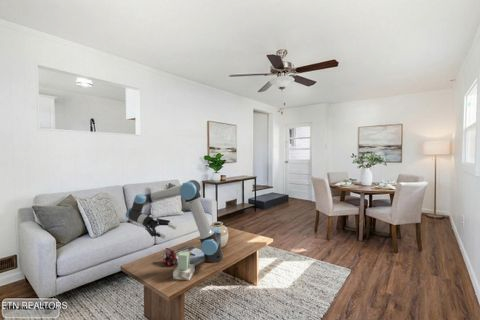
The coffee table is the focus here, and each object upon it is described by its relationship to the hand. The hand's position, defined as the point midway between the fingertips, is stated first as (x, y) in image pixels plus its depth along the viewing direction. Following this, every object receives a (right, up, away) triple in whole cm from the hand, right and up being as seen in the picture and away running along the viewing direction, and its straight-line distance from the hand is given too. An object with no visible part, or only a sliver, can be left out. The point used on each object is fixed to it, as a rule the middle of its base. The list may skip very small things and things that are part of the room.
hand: (170, 232), depth 165 cm
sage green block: (+11, -22, -7) cm, 25 cm away
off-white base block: (+11, -27, -7) cm, 30 cm away
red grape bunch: (-3, -26, +10) cm, 28 cm away
